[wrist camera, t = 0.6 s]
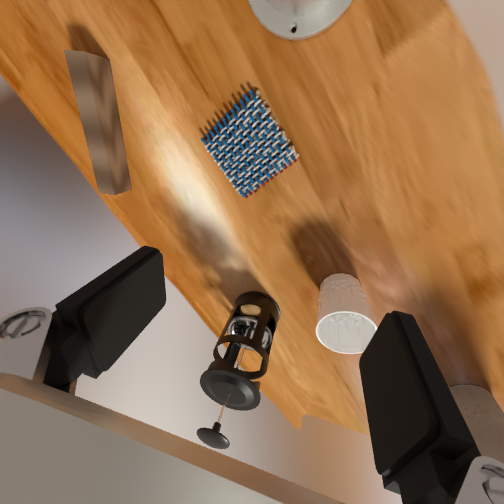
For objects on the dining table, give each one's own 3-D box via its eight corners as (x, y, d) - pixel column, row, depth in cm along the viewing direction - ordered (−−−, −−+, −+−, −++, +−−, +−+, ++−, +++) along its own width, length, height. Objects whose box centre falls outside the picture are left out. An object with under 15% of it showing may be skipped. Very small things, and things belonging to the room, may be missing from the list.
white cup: (329, 262, 37) (332, 302, 29) (375, 281, 37) (392, 327, 28) (309, 295, 42) (306, 339, 33) (350, 313, 41) (357, 361, 33)
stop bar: (91, 58, 32) (64, 50, 29) (109, 59, 32) (84, 51, 28) (117, 186, 41) (99, 192, 38) (131, 189, 41) (114, 195, 37)
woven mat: (245, 199, 37) (242, 203, 35) (203, 140, 34) (196, 141, 32) (302, 157, 32) (301, 159, 30) (257, 85, 29) (253, 83, 27)
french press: (252, 280, 43) (197, 407, 24) (292, 308, 44) (269, 454, 25) (223, 313, 49) (160, 434, 30) (258, 337, 50) (219, 471, 31)
